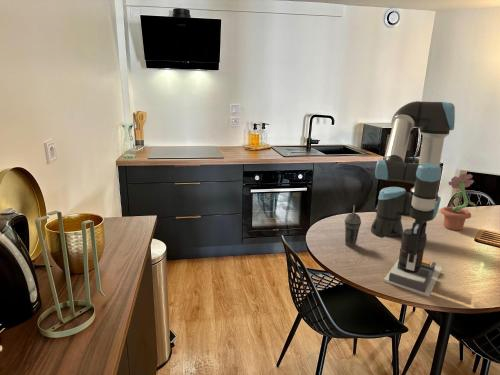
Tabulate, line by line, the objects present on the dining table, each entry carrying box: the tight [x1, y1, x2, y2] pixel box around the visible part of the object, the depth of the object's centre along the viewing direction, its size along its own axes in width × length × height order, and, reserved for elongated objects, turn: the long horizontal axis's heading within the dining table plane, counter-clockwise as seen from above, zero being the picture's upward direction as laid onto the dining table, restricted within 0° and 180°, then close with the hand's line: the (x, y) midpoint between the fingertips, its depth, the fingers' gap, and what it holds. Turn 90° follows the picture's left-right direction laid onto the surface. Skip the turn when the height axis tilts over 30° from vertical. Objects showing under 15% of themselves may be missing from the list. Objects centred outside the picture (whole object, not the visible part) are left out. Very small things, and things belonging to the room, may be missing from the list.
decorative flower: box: [440, 173, 477, 231], centre depth 178 cm, size 15×14×30 cm
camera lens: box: [398, 228, 428, 273], centre depth 129 cm, size 8×8×15 cm
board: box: [383, 258, 443, 298], centre depth 136 cm, size 16×24×4 cm, turn 143°
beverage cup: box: [344, 204, 362, 248], centre depth 158 cm, size 7×7×20 cm
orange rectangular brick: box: [422, 258, 432, 266], centre depth 141 cm, size 8×3×3 cm, turn 53°
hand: (412, 264), depth 130 cm, fingers closed on camera lens, 8 cm apart
